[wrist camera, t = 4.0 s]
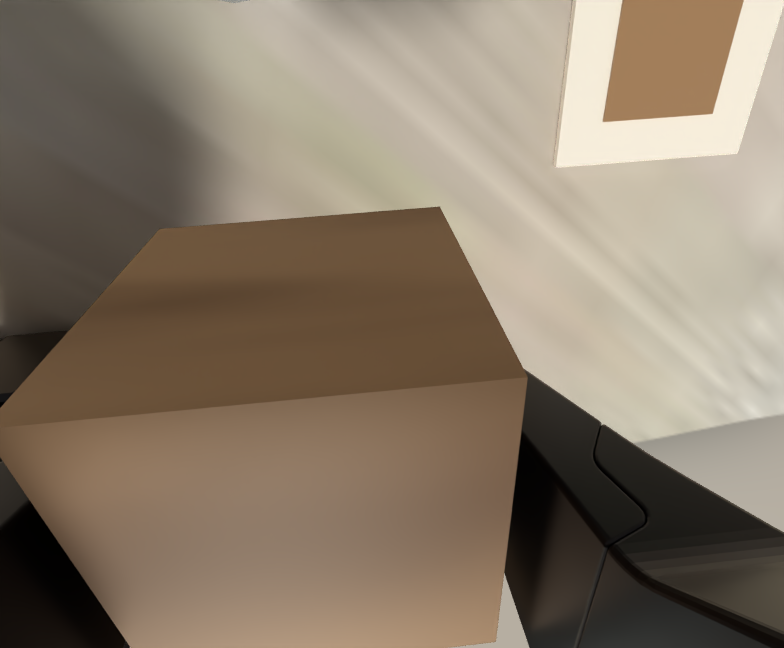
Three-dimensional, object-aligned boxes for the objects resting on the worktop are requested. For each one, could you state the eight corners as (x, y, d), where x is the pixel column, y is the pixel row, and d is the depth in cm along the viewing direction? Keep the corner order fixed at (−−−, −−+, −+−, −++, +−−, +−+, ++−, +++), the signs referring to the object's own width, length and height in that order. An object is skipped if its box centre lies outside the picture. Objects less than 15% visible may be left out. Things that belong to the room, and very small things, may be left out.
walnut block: (439, 413, 11) (496, 641, 7) (225, 434, 11) (154, 682, 7) (439, 206, 9) (527, 377, 5) (159, 229, 9) (-20, 429, 4)
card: (731, 151, 19) (739, 154, 18) (552, 165, 18) (556, 168, 18) (804, -85, 15) (814, -87, 15) (581, -72, 15) (586, -75, 14)
